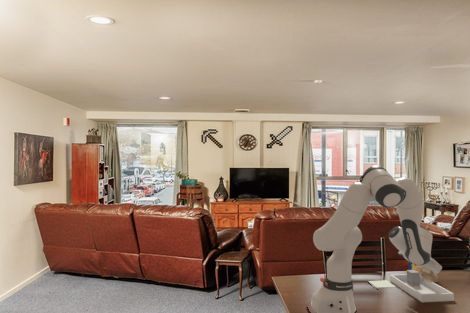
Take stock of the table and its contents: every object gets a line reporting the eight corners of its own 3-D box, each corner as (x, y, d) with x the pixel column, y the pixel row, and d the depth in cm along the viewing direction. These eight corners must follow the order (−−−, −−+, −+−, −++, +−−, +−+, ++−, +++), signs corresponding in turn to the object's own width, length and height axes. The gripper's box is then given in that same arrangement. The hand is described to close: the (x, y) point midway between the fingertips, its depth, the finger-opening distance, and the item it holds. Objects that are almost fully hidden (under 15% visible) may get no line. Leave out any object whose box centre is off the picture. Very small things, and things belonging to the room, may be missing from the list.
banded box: (429, 282, 159) (429, 264, 160) (422, 279, 164) (422, 261, 164) (437, 281, 160) (437, 263, 160) (430, 278, 165) (429, 260, 165)
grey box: (411, 285, 175) (411, 272, 175) (407, 282, 179) (406, 270, 179) (419, 285, 175) (419, 272, 175) (415, 282, 179) (414, 269, 179)
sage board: (376, 289, 173) (376, 287, 173) (368, 282, 183) (368, 281, 183) (396, 288, 174) (396, 286, 174) (387, 282, 184) (386, 280, 184)
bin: (421, 304, 153) (421, 294, 154) (390, 282, 182) (389, 274, 183) (454, 302, 154) (453, 293, 154) (417, 281, 183) (417, 273, 183)
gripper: (434, 253, 151) (452, 272, 153) (402, 243, 171) (419, 260, 173) (426, 264, 150) (444, 283, 152) (395, 252, 170) (412, 269, 172)
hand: (430, 270), depth 162 cm, fingers closed on banded box, 4 cm apart
